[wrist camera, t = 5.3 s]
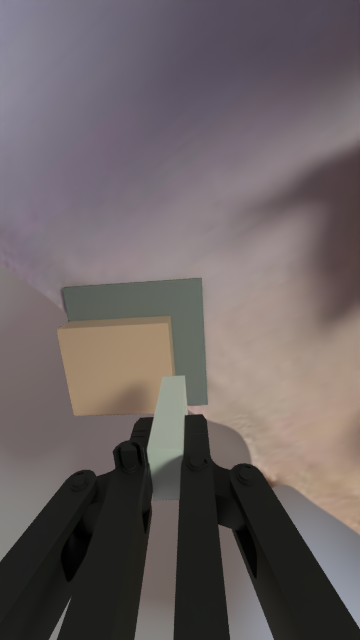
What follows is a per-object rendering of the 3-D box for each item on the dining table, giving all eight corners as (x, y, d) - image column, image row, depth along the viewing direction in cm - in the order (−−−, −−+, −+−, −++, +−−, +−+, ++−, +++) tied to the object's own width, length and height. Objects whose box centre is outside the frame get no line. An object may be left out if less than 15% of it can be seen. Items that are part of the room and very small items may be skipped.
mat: (64, 287, 22) (62, 287, 22) (201, 277, 21) (201, 278, 21) (86, 407, 25) (85, 409, 25) (207, 402, 24) (207, 404, 24)
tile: (170, 315, 22) (71, 320, 23) (167, 323, 19) (56, 329, 20) (177, 396, 24) (85, 399, 25) (175, 412, 21) (73, 416, 22)
